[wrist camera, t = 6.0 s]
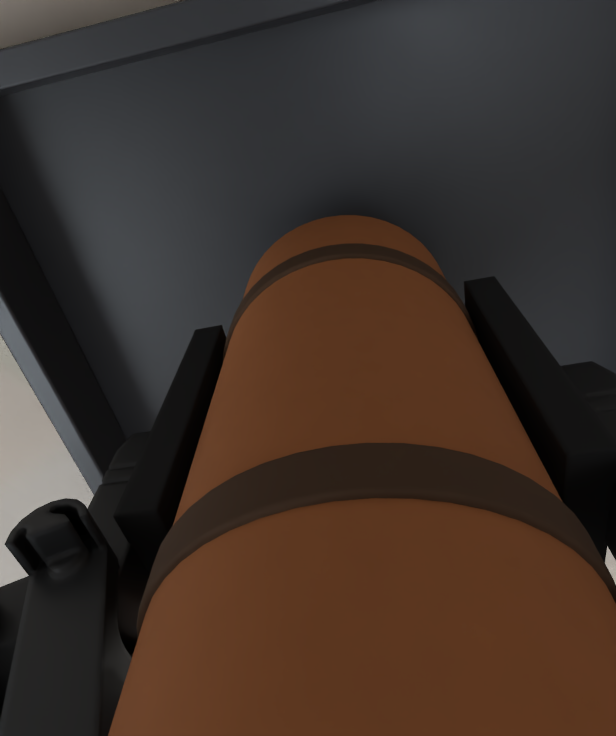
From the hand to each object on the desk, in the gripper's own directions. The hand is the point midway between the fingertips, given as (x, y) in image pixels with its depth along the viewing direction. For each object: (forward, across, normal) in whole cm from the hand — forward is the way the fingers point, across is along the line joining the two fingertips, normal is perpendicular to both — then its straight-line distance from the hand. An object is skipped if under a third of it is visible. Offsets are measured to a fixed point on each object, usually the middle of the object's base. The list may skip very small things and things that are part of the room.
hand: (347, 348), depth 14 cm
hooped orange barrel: (+2, 0, 0) cm, 2 cm away
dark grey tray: (+5, 0, 0) cm, 5 cm away
